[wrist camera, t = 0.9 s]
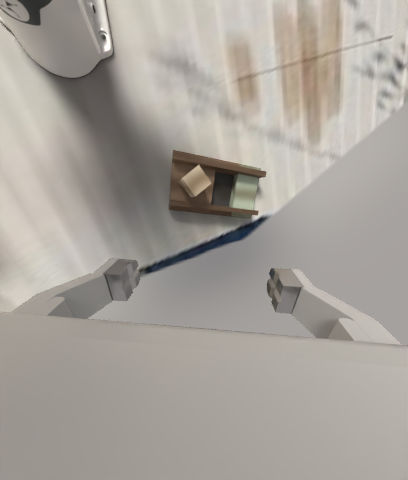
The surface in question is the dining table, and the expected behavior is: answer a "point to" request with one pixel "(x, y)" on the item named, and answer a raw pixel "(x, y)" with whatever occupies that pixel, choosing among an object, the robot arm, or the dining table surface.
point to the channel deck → (215, 186)
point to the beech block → (195, 181)
